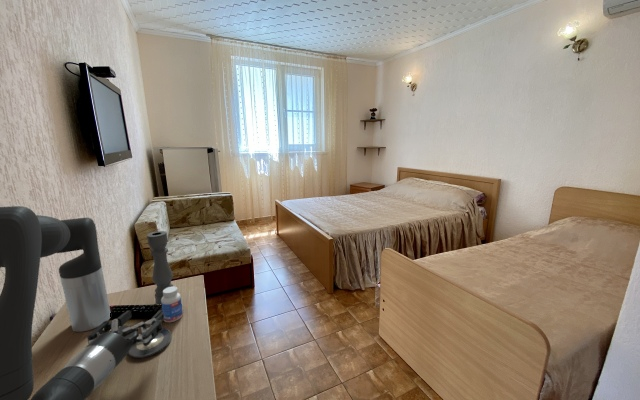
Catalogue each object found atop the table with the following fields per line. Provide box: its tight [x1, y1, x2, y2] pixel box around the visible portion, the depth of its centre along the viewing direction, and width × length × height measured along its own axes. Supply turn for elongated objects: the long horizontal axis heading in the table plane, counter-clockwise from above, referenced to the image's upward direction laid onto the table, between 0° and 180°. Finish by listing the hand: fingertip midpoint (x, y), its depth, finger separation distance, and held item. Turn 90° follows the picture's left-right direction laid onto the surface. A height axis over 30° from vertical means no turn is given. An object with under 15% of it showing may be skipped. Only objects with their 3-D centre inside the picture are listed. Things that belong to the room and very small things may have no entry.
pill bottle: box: [161, 285, 183, 323], centre depth 82 cm, size 6×5×10 cm
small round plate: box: [128, 328, 172, 359], centre depth 72 cm, size 10×10×1 cm
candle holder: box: [146, 230, 174, 305], centre depth 89 cm, size 6×6×25 cm
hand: (145, 313), depth 70 cm, fingers open, 8 cm apart
